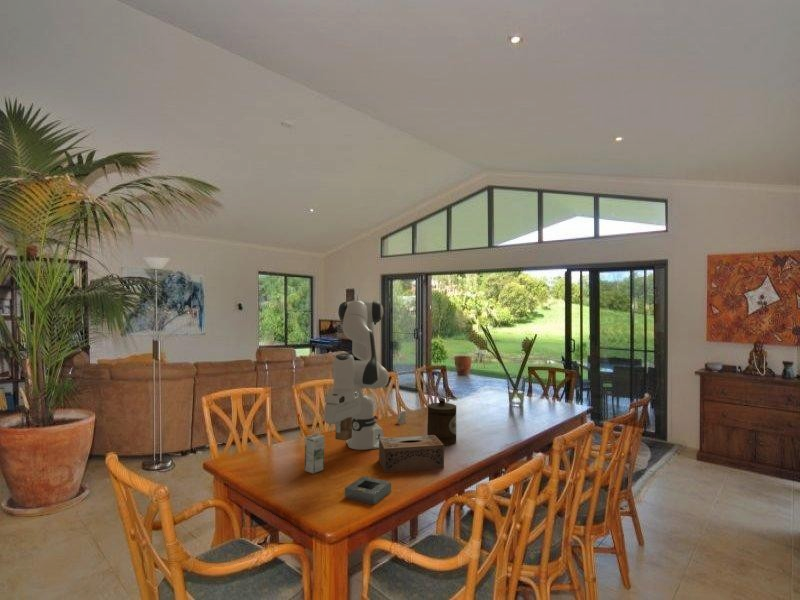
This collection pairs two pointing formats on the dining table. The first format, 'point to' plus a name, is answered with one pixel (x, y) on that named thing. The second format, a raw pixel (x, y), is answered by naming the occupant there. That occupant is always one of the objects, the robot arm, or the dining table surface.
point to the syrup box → (314, 453)
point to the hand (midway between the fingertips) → (343, 430)
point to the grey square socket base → (368, 490)
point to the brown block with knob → (345, 430)
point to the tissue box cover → (411, 453)
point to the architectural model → (402, 417)
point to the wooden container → (442, 421)
